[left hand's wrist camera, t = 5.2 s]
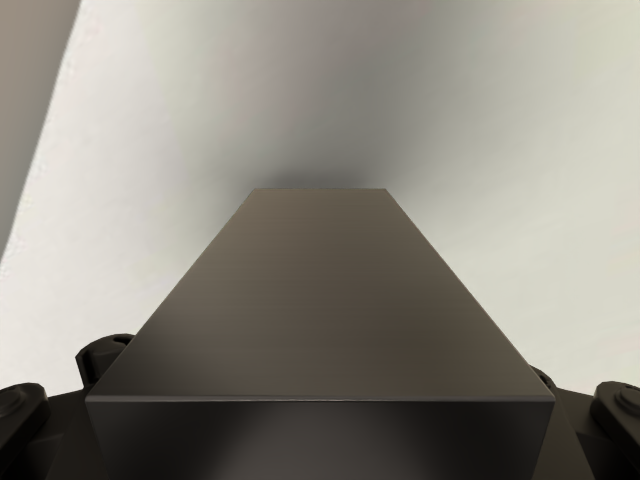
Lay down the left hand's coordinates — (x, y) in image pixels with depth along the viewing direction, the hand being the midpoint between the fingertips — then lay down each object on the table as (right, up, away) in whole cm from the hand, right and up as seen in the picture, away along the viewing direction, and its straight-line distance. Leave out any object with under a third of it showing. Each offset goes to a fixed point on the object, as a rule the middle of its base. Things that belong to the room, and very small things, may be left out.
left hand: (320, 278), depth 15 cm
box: (0, -7, +6) cm, 9 cm away
